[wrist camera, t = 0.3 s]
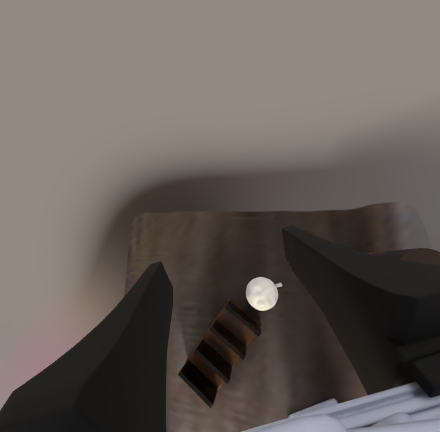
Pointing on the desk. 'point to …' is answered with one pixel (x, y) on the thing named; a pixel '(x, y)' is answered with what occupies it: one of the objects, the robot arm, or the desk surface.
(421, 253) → the deodorant
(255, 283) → the milkshake
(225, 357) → the letter rack
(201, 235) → the desk surface
